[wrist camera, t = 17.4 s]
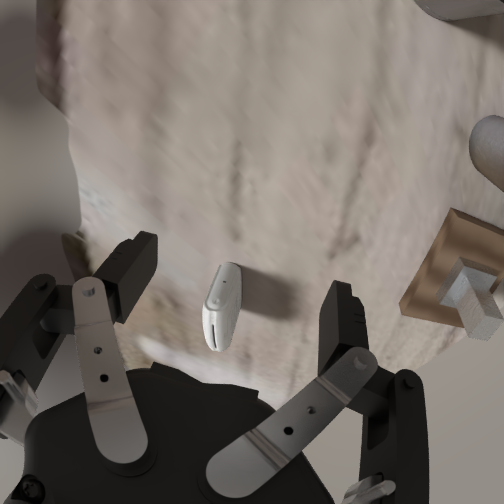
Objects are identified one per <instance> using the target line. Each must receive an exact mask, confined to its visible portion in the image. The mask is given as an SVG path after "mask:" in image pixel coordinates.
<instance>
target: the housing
mask: <svg viewBox="0 0 504 504" xmlns="http://www.w3.org/2000/svg"><path fill="white" fill-rule="evenodd" d="M496 278H497V276H496V274H495V272H494V271H493V269H492V268H491V267H488V266H485V265H482V264H480V263H477V262H474V261H471V260H468V259H465V258H462V257H458V259H457V261H456V262H455V264H454V266H453V267H452V269H451V271H450V272H449V274H448V276H447V277H446V279H445V280H444V282H443V284H442V285H441V287H440V288H439V290H438V291H437V293H436V296H437V299H438V301H439V304H441V305H445V306H449V307H453V308H457V310H458V312H459V315H460V317H461V320H462V322H463V325H464V328H465V330H466V333H467V336H468V337H469V338H475V339H480V340H486V341H488V339H489V338H490V337H491V336H492V335H493V333H494V332H495V331H496V330H497V329H498V327H499V326H500V325H501V324H502V322H503V321H504V318H503V316H502V314H501V312H500V310H499V308H498V306H497V304H496V302H495V300H494V298H493V296H492V295H491V293H490V291H489V289H490V287H491V286H492V284H493V283H494V281H495V280H496Z"/></svg>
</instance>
